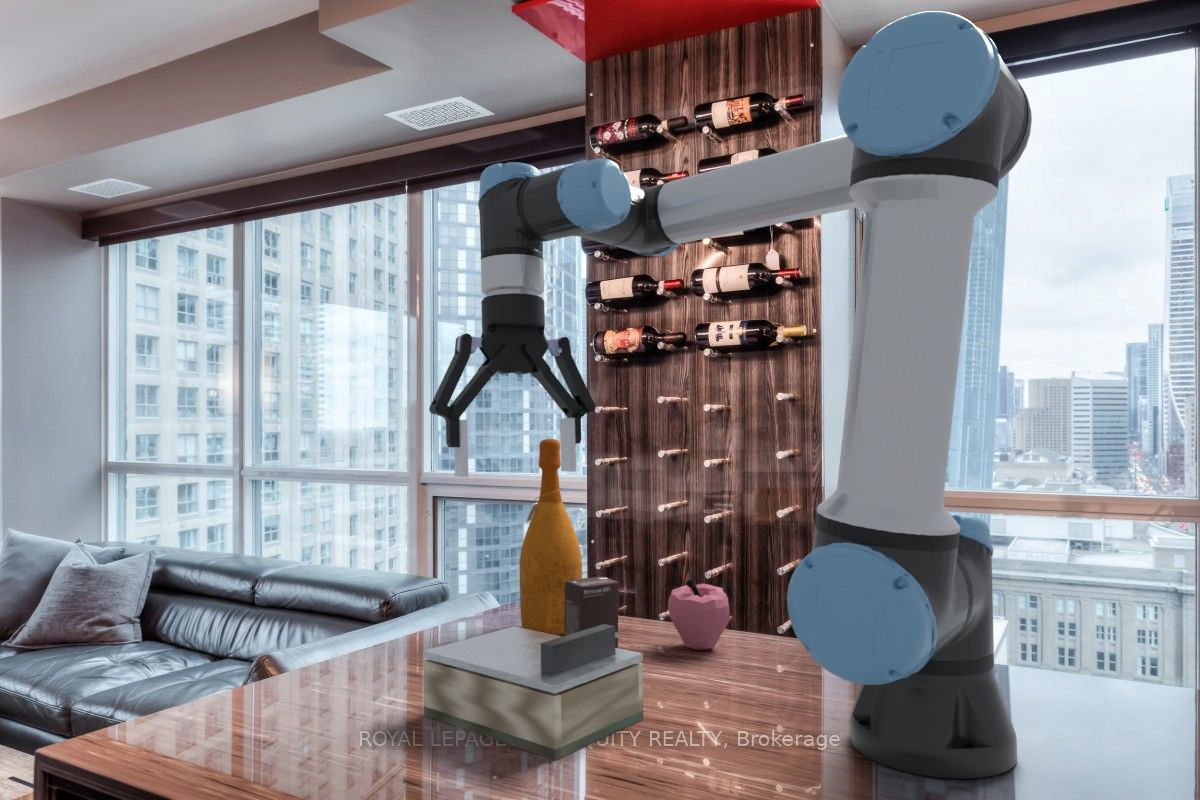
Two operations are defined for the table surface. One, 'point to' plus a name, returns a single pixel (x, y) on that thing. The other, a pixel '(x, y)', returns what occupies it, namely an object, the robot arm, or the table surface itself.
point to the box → (591, 604)
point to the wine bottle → (548, 551)
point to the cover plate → (539, 656)
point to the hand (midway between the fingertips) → (516, 474)
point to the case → (534, 708)
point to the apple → (699, 614)
